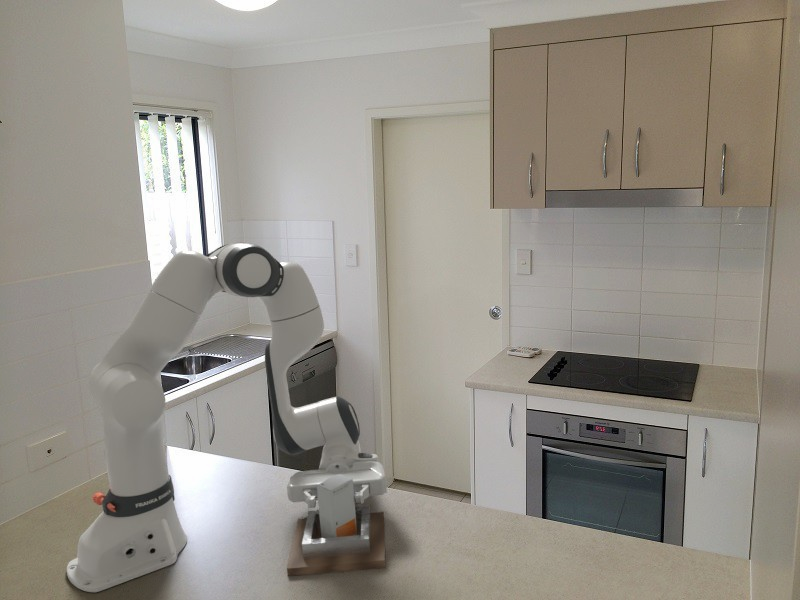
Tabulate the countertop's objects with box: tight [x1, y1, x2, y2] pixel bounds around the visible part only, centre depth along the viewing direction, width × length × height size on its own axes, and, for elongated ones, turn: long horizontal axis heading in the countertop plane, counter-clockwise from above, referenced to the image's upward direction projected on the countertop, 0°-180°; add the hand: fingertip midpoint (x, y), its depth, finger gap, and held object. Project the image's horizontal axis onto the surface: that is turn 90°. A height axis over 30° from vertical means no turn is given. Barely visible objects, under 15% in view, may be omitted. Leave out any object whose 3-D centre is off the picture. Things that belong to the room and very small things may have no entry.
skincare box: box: [317, 474, 357, 538], centre depth 132 cm, size 6×4×12 cm
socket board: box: [286, 505, 386, 577], centre depth 133 cm, size 18×18×4 cm
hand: (335, 502), depth 132 cm, fingers open, 8 cm apart
